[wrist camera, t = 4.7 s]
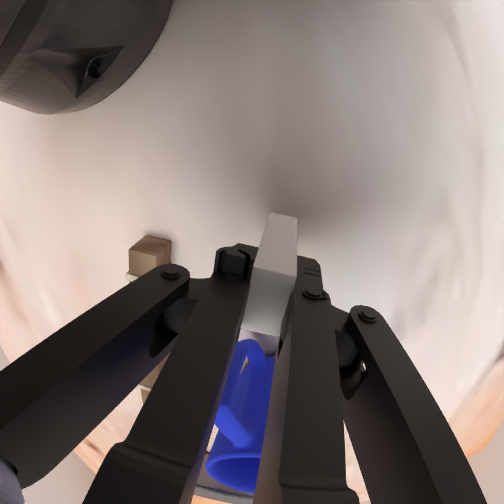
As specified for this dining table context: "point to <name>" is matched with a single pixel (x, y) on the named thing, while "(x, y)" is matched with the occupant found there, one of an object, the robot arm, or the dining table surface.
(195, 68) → the dining table surface
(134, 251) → the brown and green stick
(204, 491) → the grooved grey block
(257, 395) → the mug
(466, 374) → the dining table surface
